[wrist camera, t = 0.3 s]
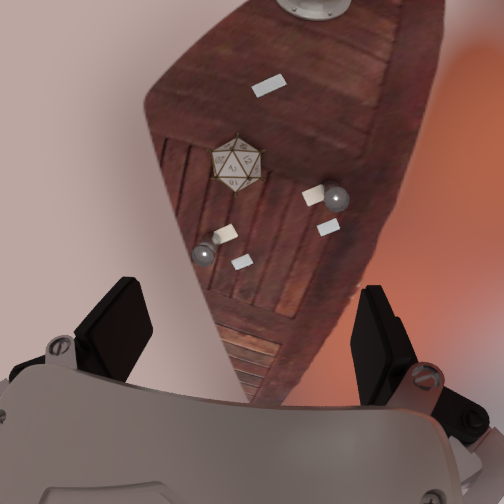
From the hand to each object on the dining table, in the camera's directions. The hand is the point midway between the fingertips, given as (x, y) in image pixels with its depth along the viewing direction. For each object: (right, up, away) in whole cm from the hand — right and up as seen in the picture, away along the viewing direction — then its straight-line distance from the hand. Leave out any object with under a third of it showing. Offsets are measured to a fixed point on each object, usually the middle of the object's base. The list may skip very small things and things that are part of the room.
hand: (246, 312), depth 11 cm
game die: (-1, +17, +32) cm, 36 cm away
